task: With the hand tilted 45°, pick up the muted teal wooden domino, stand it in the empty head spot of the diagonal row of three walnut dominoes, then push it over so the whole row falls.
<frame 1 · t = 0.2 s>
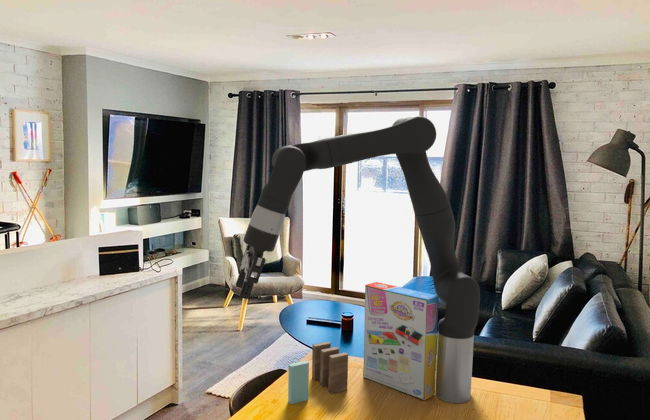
hand: (241, 292, 123), 31 cm above the table, tool tilted 20°, fingers open, 8 cm apart
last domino: (321, 377, 148), on the table
domino 2: (337, 390, 141), on the table
teal domino: (298, 400, 135), on the table
domino 3: (329, 384, 144), on the table
game box: (397, 386, 144), on the table
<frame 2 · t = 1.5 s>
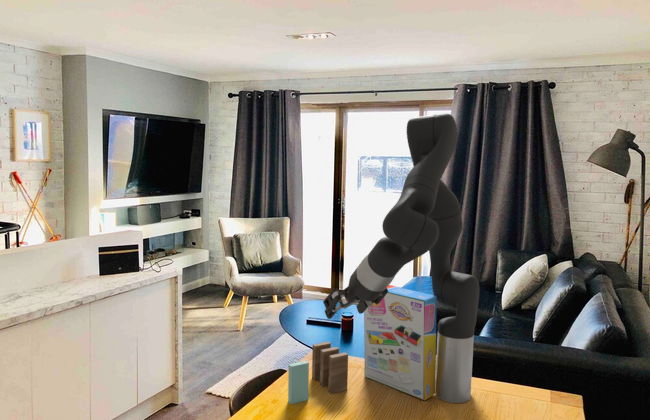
hand: (343, 312, 122), 27 cm above the table, tool tilted 45°, fingers open, 8 cm apart
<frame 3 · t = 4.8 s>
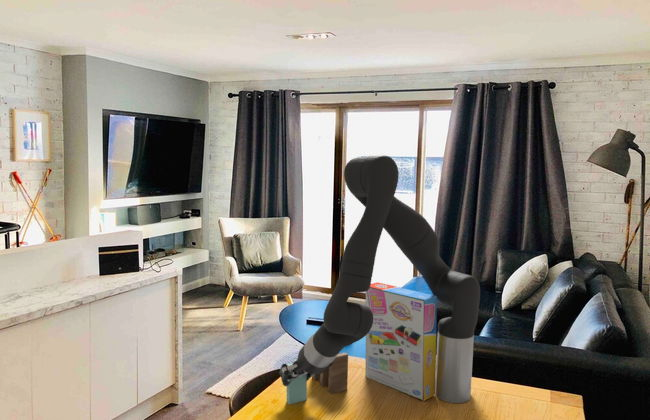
hand: (294, 380, 135), 5 cm above the table, tool tilted 45°, fingers closed on teal domino, 5 cm apart
teal domino: (296, 400, 134), on the table, touching gripper
game box: (398, 386, 144), on the table, touching arm
everything else where it was.
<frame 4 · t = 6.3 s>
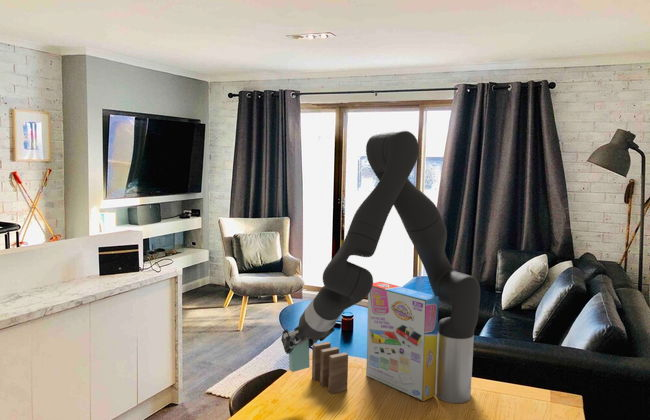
hand: (296, 348, 134), 13 cm above the table, tool tilted 45°, fingers closed on teal domino, 5 cm apart
teal domino: (299, 368, 134), point 8 cm above the table, touching gripper
everything else where it was.
when the fingers open (6 cm above the table, at t = 10.6 s): teal domino moves 6 cm and tips over, point 1 cm above the table.
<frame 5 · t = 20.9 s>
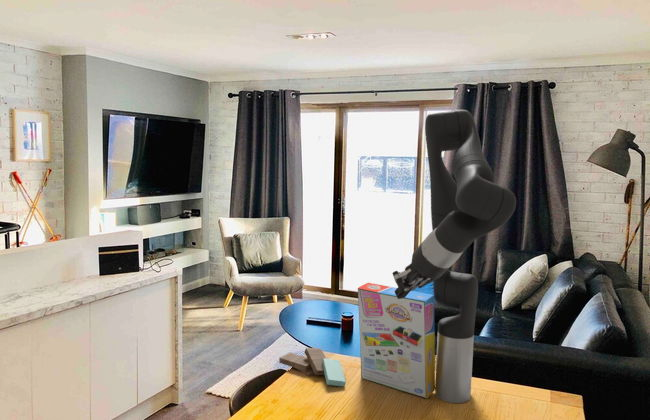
hand: (398, 295, 119), 32 cm above the table, tool tilted 45°, fingers closed
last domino: (315, 374, 150), on the table, tilted 90°
domino 2: (324, 372, 149), point 1 cm above the table, tilted 72°
teal domino: (336, 383, 142), point 1 cm above the table, tilted 79°
domino 3: (311, 365, 152), point 2 cm above the table, tilted 90°
at the end: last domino tilted 90°; teal domino tilted 79°; teal domino inside the target area (5.8 cm from its centre), point 1.2 cm above the table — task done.
